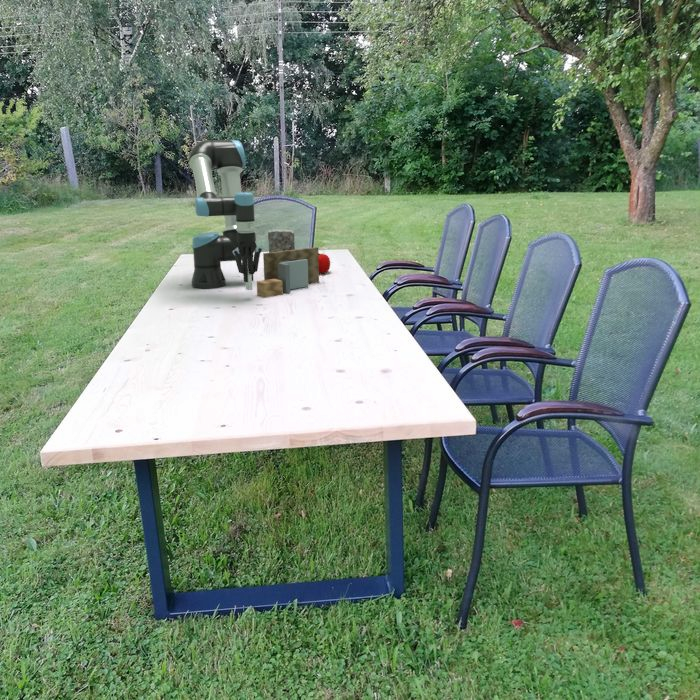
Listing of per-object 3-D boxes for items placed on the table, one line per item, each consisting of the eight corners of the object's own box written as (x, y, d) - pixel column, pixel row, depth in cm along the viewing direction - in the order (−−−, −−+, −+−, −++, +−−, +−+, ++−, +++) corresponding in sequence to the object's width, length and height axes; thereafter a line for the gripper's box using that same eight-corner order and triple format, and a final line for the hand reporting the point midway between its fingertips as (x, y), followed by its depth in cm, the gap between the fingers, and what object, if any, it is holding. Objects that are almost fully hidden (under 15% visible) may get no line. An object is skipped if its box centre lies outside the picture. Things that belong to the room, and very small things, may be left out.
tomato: (336, 273, 315) (335, 252, 312) (317, 276, 306) (316, 255, 303) (320, 270, 322) (320, 250, 319) (301, 273, 314) (301, 252, 311)
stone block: (269, 270, 321) (267, 231, 315) (269, 268, 328) (268, 229, 322) (295, 270, 322) (294, 230, 316) (295, 267, 329) (294, 229, 323)
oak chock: (275, 292, 273) (274, 278, 272) (282, 294, 269) (282, 280, 267) (257, 295, 268) (256, 281, 266) (264, 297, 264) (264, 283, 262)
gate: (286, 292, 270) (285, 264, 267) (278, 290, 275) (277, 262, 271) (314, 288, 279) (314, 261, 275) (306, 285, 284) (305, 259, 280)
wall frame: (267, 290, 277) (265, 253, 272) (264, 289, 278) (263, 253, 273) (319, 282, 293) (318, 247, 288) (316, 281, 295) (315, 247, 290)
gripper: (236, 233, 248) (239, 293, 254) (264, 231, 255) (267, 288, 262) (227, 232, 253) (230, 290, 260) (255, 230, 261) (258, 286, 268)
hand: (249, 289), depth 261 cm, fingers closed
